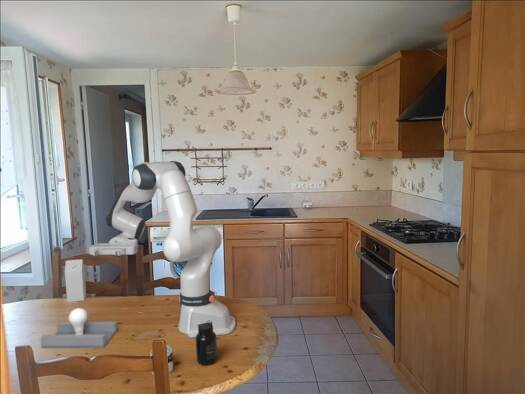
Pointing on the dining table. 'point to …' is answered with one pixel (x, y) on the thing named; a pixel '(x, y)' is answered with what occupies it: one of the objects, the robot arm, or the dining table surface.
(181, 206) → the robot arm
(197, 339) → the supplement bottle
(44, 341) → the trough
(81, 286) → the milk carton
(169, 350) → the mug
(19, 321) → the dining table surface
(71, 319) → the lightbulb
